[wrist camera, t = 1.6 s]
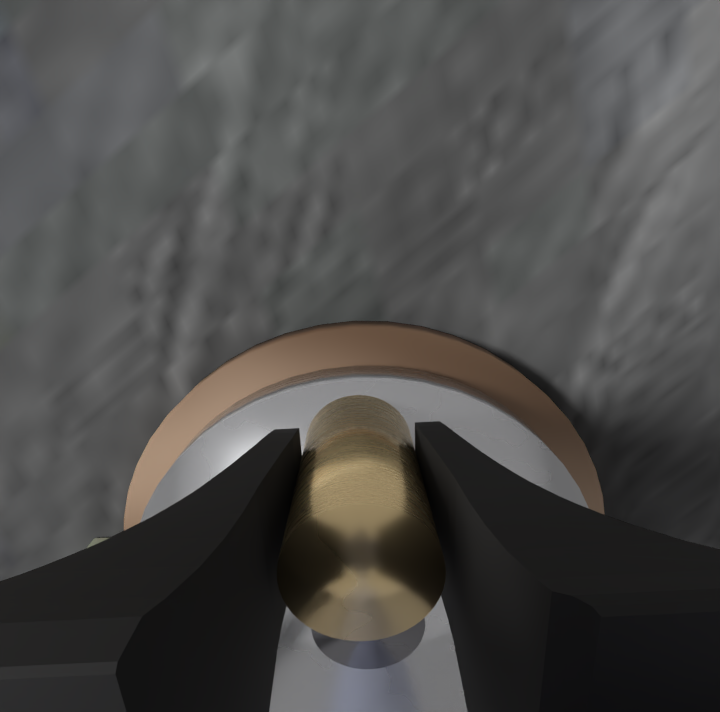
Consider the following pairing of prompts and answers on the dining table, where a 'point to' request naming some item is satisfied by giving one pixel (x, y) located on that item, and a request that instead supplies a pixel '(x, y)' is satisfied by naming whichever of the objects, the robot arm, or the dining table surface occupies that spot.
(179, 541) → the robot arm
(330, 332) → the wheel base
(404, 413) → the handwheel
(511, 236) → the dining table surface
